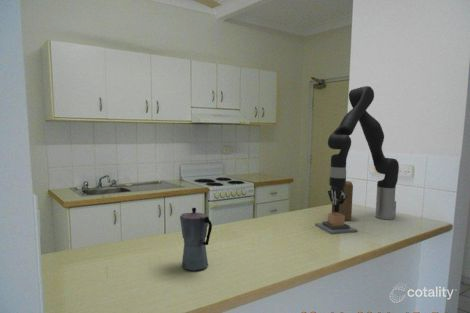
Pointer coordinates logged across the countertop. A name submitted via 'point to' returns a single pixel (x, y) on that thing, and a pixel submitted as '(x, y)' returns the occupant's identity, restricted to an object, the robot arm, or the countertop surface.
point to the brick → (336, 219)
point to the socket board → (335, 228)
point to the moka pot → (195, 239)
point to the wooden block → (346, 202)
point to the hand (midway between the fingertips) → (336, 211)
